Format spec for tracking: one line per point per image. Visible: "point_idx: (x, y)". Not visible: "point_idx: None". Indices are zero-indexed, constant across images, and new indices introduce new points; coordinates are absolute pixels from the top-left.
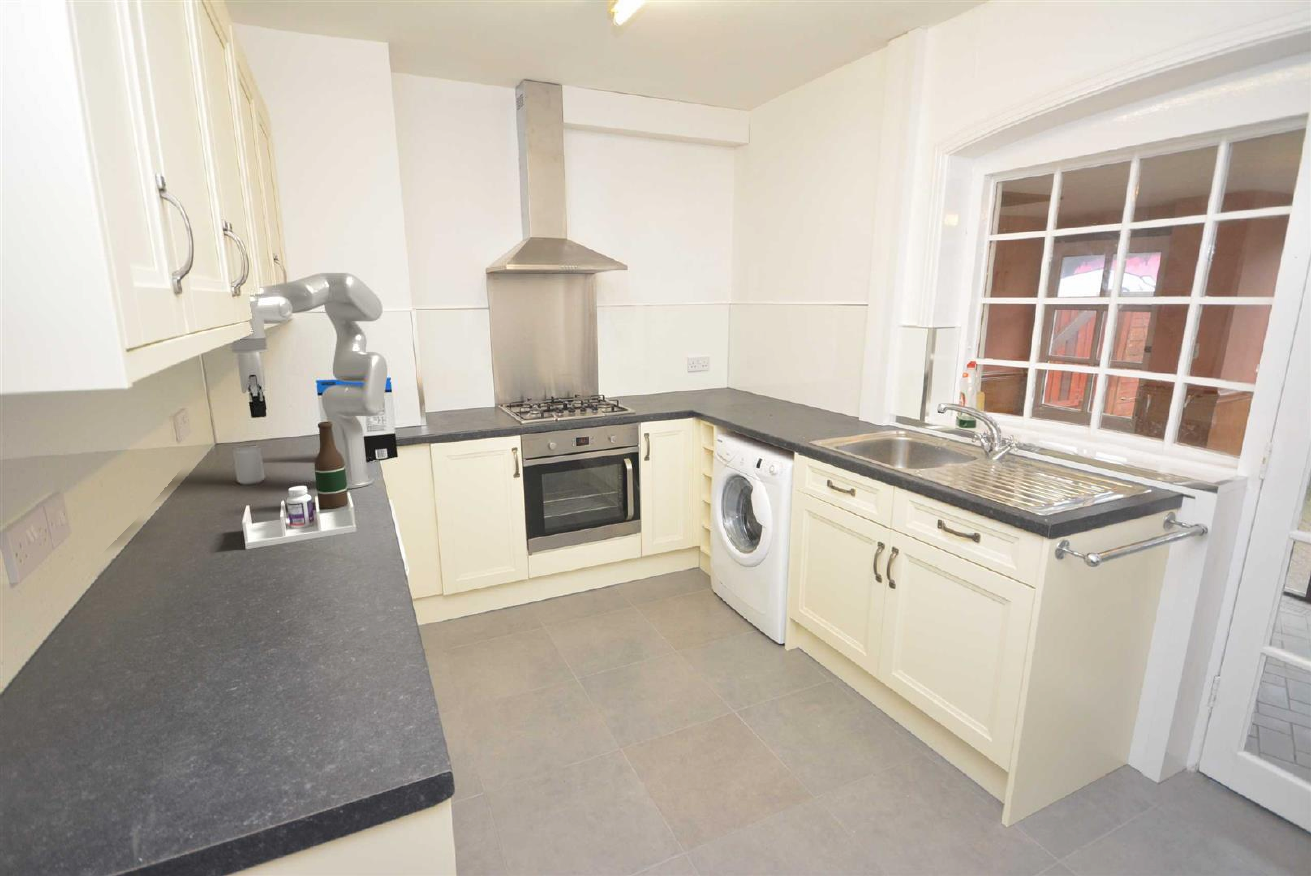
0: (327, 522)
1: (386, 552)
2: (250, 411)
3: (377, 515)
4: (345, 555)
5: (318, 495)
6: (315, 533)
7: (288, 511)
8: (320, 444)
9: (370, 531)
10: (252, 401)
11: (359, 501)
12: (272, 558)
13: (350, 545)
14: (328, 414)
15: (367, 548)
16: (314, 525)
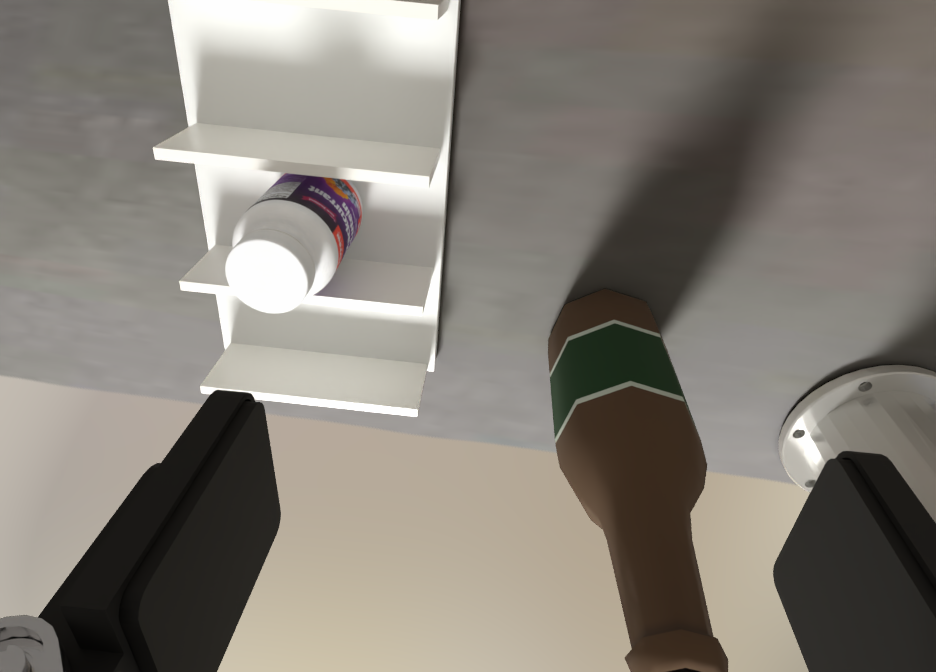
0: None
1: (10, 364)
2: (173, 452)
3: (378, 415)
4: (10, 273)
5: (606, 314)
6: (207, 230)
7: (284, 185)
8: (648, 523)
9: None
10: (123, 650)
11: None
12: (36, 62)
13: (100, 300)
14: None
15: (58, 332)
16: None
